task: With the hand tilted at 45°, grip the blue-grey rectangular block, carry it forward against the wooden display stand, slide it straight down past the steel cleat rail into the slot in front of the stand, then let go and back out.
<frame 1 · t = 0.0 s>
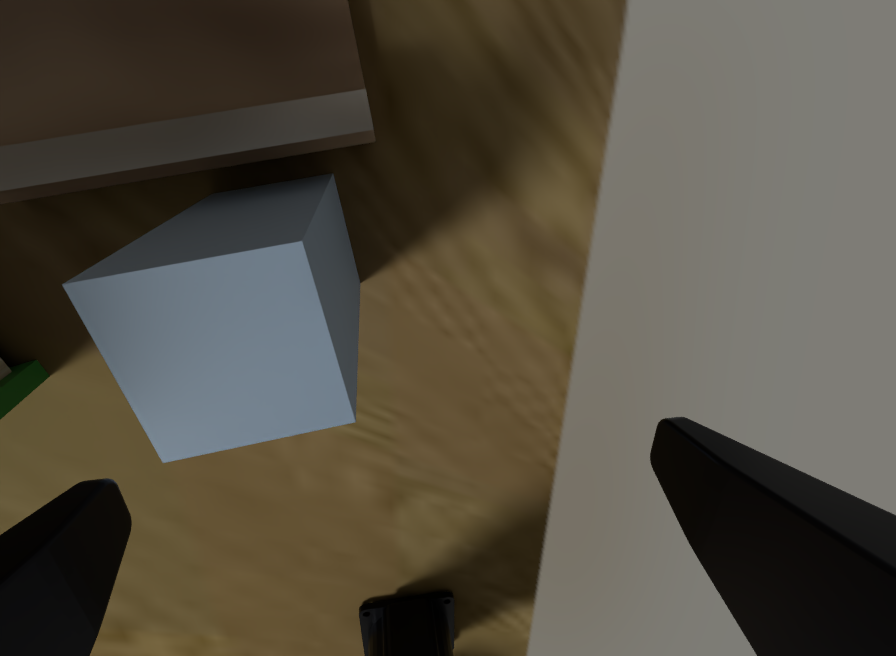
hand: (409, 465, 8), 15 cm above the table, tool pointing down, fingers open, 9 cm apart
blue-grey rectangular block: (290, 241, 20), on the table
wooden display stand: (219, 10, 16), on the table
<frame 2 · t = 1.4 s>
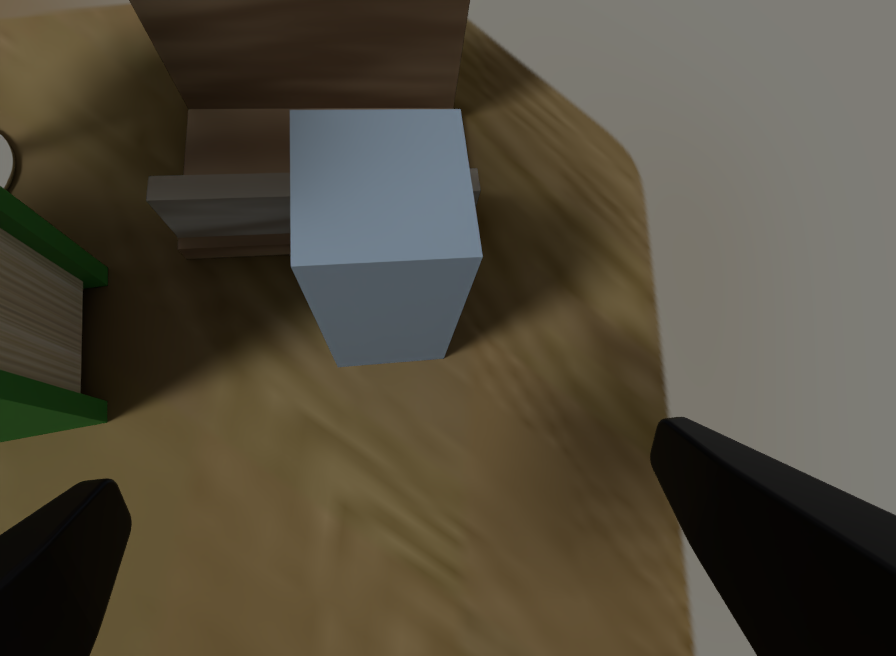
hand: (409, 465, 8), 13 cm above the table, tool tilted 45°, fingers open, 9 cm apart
blue-grey rectangular block: (387, 313, 23), on the table
wooden display stand: (376, 168, 25), on the table
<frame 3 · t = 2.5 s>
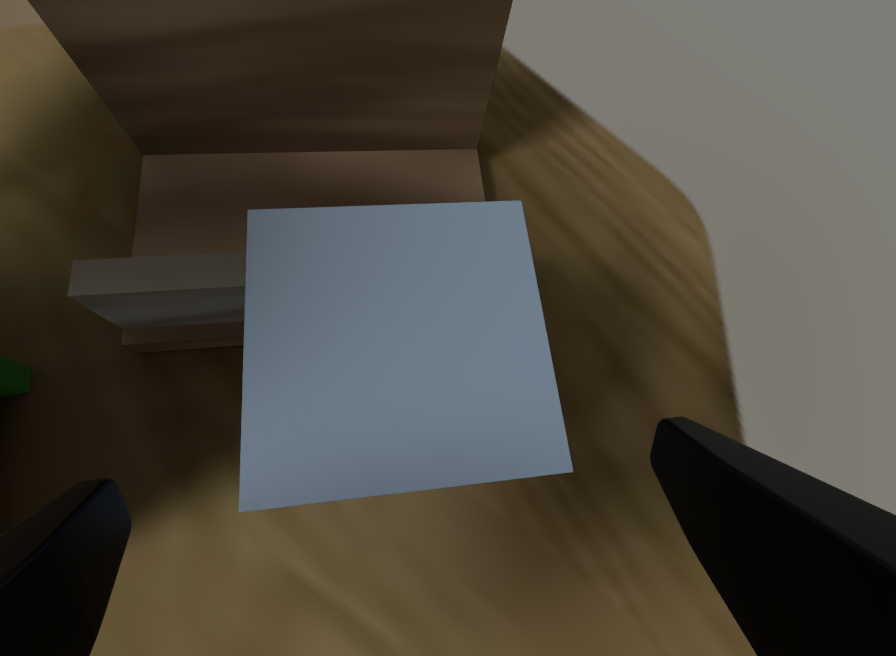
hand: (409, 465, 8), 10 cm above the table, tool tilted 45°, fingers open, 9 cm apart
blue-grey rectangular block: (397, 422, 18), on the table
wooden display stand: (382, 226, 20), on the table
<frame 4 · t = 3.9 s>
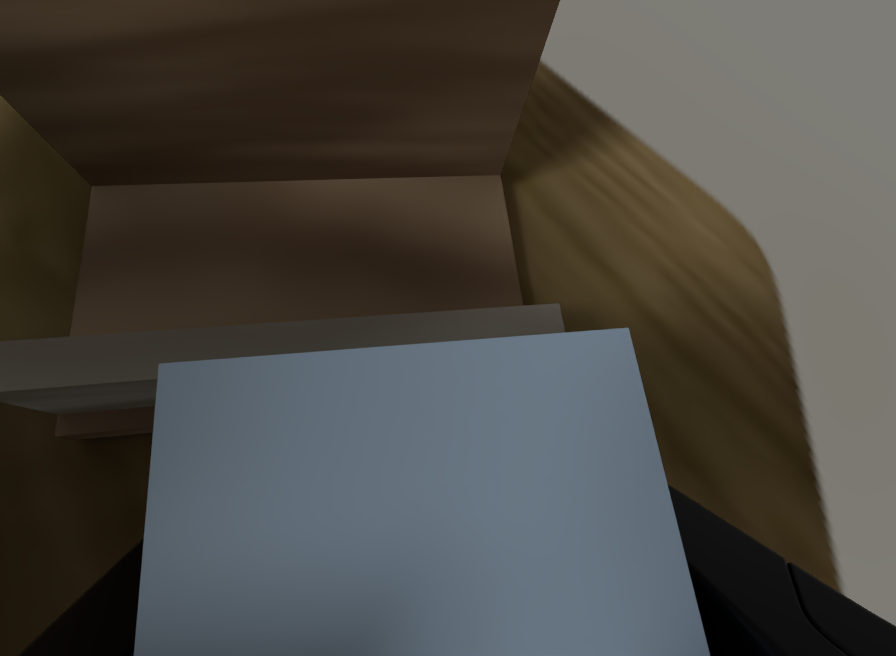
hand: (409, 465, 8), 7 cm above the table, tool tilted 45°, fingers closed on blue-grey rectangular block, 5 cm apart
blue-grey rectangular block: (406, 523, 14), on the table, touching gripper
wooden display stand: (386, 270, 17), on the table
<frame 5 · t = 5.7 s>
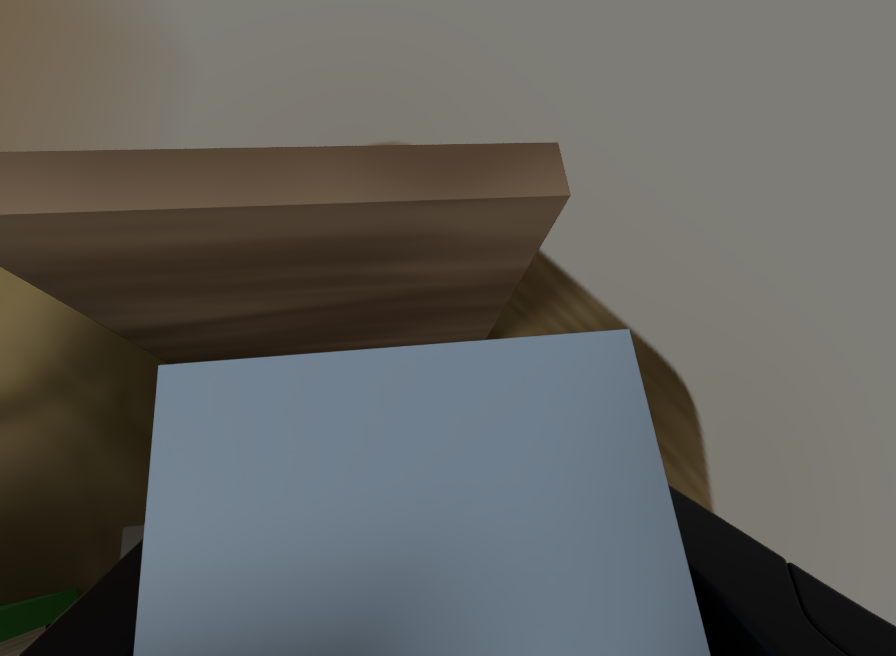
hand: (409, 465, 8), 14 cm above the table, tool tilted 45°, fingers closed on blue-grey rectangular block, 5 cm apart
blue-grey rectangular block: (406, 524, 14), point 7 cm above the table, touching gripper
wooden display stand: (395, 421, 22), on the table
when the fingers open (9 cm above the table, at t = 7.5 s): blue-grey rectangular block stays where it is, resting on wooden display stand.
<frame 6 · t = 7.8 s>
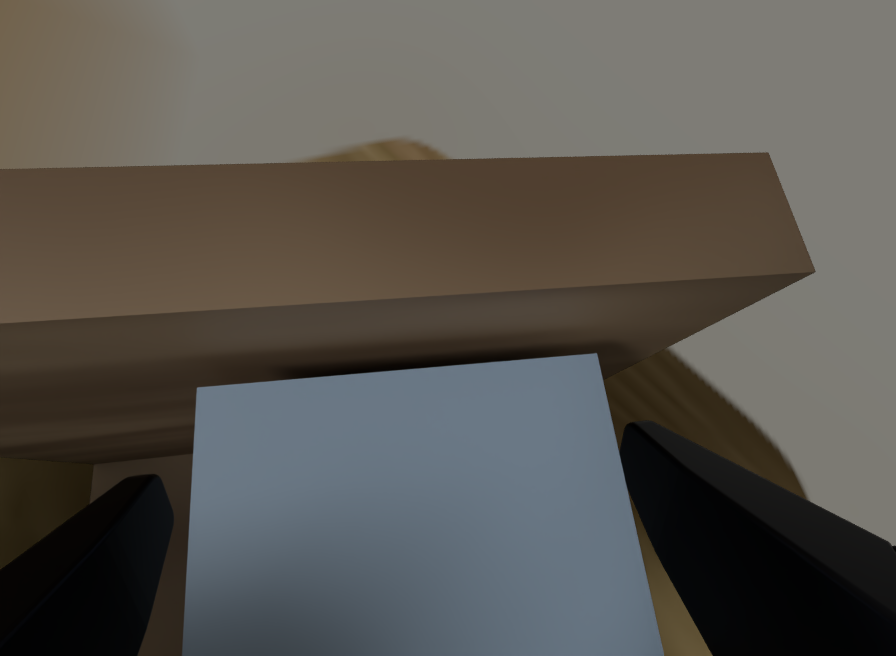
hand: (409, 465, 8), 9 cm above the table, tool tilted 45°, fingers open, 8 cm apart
blue-grey rectangular block: (406, 522, 15), point 1 cm above the table, touching wooden display stand
wooden display stand: (405, 531, 16), on the table
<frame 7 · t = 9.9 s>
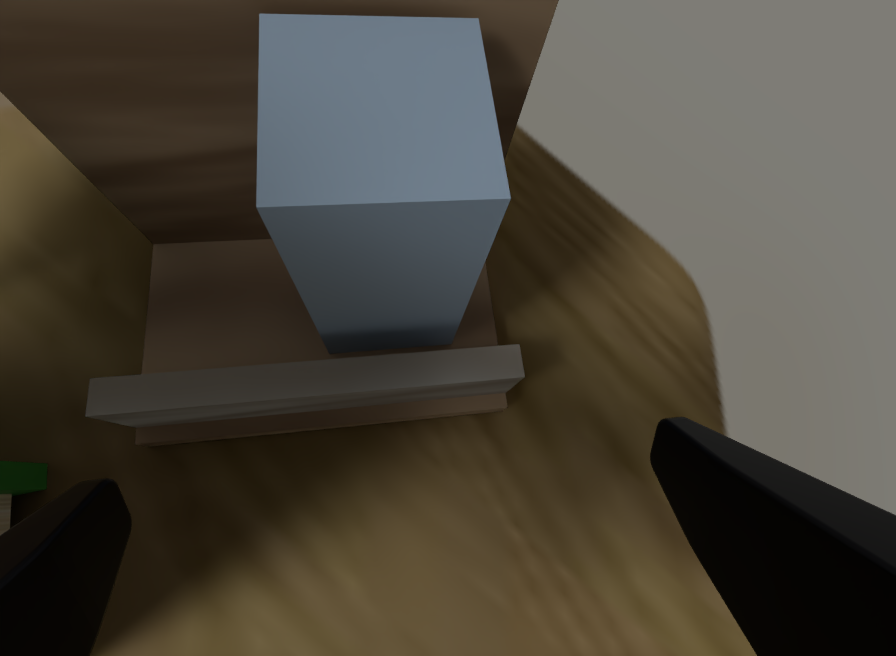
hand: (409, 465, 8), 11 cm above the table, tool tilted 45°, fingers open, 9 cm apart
blue-grey rectangular block: (387, 292, 20), point 1 cm above the table, touching wooden display stand
wooden display stand: (387, 308, 21), on the table
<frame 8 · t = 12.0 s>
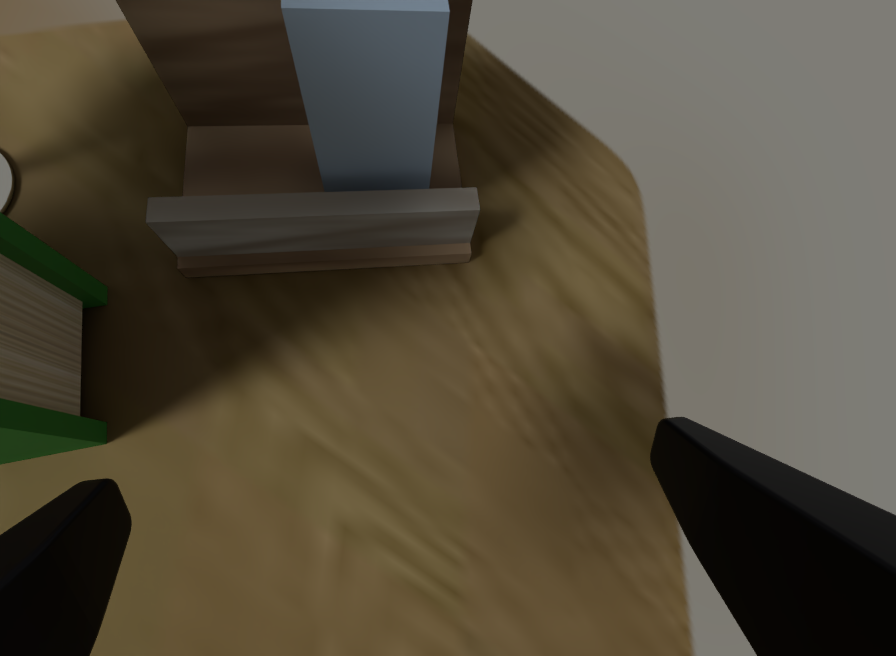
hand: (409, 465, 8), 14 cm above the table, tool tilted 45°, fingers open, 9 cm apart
blue-grey rectangular block: (375, 167, 25), point 1 cm above the table, touching wooden display stand
wooden display stand: (376, 184, 25), on the table
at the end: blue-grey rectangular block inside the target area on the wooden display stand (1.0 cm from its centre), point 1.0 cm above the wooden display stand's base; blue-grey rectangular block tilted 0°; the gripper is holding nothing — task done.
